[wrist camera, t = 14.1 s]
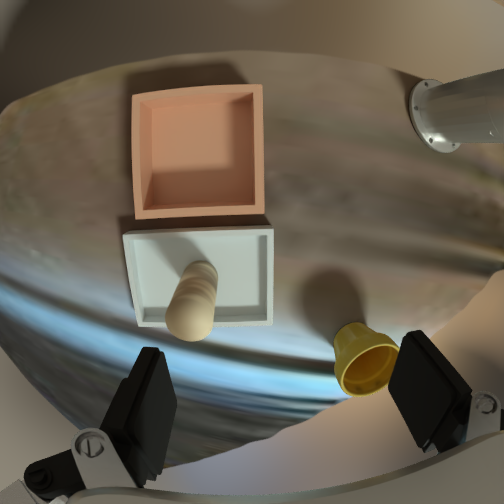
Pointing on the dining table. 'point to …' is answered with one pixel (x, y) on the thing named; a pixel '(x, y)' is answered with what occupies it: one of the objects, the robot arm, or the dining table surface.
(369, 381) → the plant pot
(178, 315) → the maple peg
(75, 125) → the dining table surface
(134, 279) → the grey tray
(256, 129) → the peach square hollow box
